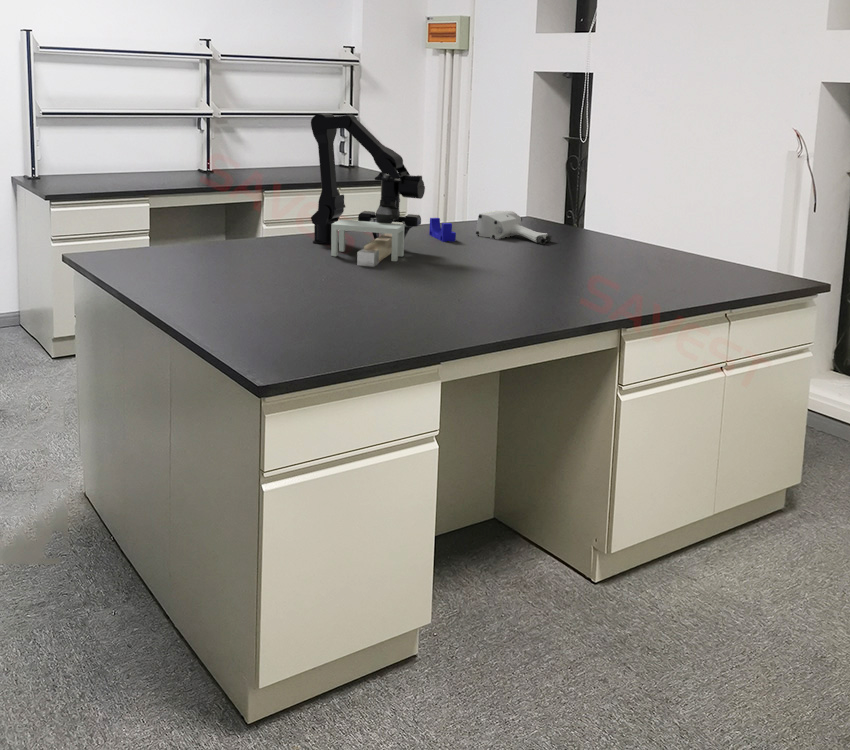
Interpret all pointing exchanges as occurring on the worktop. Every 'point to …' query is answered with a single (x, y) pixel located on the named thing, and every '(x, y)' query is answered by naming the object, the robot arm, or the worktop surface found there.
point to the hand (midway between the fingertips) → (389, 246)
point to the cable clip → (441, 230)
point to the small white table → (365, 226)
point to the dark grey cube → (368, 257)
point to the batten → (381, 245)
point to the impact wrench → (506, 227)
